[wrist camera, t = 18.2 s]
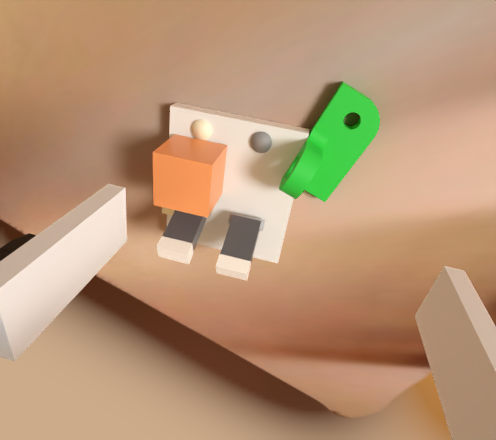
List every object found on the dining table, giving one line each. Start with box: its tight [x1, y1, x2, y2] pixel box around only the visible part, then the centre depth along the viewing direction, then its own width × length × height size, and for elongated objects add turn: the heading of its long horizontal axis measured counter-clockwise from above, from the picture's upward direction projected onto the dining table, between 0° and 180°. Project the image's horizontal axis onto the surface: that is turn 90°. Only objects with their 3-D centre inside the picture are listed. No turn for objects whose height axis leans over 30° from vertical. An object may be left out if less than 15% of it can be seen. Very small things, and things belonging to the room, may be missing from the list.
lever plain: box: [216, 213, 265, 281], centre depth 41 cm, size 2×4×8 cm, turn 82°
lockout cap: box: [153, 134, 227, 218], centre depth 39 cm, size 6×6×6 cm
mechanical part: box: [279, 81, 380, 202], centre depth 36 cm, size 12×6×8 cm, turn 152°
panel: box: [162, 103, 310, 263], centre depth 43 cm, size 18×17×2 cm
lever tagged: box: [156, 210, 211, 264], centre depth 42 cm, size 2×4×8 cm, turn 81°
